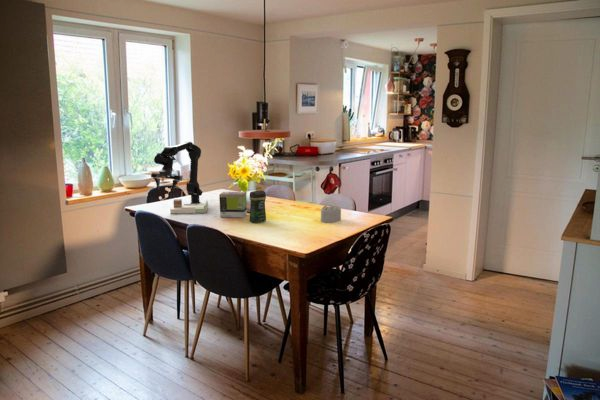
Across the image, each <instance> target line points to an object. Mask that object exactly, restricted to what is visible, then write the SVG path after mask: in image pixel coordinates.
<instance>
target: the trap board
mask: <svg viewBox="0 0 600 400" xmlns="http://www.w3.org/2000/svg"><path fill="white" fill-rule="evenodd" d="M204 202H205V203H200V204H190V203H182V207H174V204H173V205H172V206H171V208H170V211H169V212H170V215H181V214H182V215H183V214H184V215H190V214H193V215H194V214H206V213H207V211H208V209H209V204H208V203H209V200H206V201H204Z"/></svg>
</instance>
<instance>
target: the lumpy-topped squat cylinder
mask: <svg viewBox="0 0 600 400" xmlns="http://www.w3.org/2000/svg"><path fill="white" fill-rule="evenodd" d="M341 217H342V208H340V207H338V206H336V205H329V206H327V205H324V206H322V207H321V210H320V222H321V223H324V224H333V223H338V222H341V220H342V218H341Z"/></svg>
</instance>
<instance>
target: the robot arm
mask: <svg viewBox="0 0 600 400" xmlns="http://www.w3.org/2000/svg"><path fill="white" fill-rule="evenodd" d="M184 150H185V151H186V152H187V154H188V157H189V160H190V163H189V164H190V165H189V180H188V182H186V187H185V189H186V192H187V195H188V196H190V199H191V200H190V203H189V204H202V203H201V201H200V196H202V195H203V191H202V190H201V188H200V184H199V181H198V172H199V171H198V170H199V168H198V166H199V159H200V158H201V156H202V148H200V147H199V146H197V145H196V144H194V143H193V142H192V141H184V142H182V143H180V144H179V143H178V144H177V145H170V146H165V147H164V148H163V150H162V151H161V152H158V153H157V154H156V155H155V156H154V158H153V160H154V163H155V164H157V165H161V166H162V168H161V169H160V170H159V171H158V172H159V173H156V172H152V173H151V174H150V178H152V179H153V180H154V181H155V184H156V189H157V190H160V185H161V183H160V182H161V178H162V179H170V180H172V185H171V191H172V192H173V191H174V189H175V188H176V186H177V184H178V183H180V182H182V181H183V176H181V175H177V174H176V175H175V174H174V175H173V174H172V173H173V166H174V161H176V158H175V156H176V155H178V153H179V152H181V151H184Z"/></svg>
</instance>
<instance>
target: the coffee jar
mask: <svg viewBox="0 0 600 400" xmlns="http://www.w3.org/2000/svg"><path fill="white" fill-rule="evenodd" d="M248 198H249V200H250V201H249V202H250V203H249V204H250V207H249V208H250V209H249V222H251V223H256V224H258V223H264V222H266V221H267V214H266V198H267V196H266V190H265V191H264V190H261V189H260V190H254V191H250V192H249V197H248Z"/></svg>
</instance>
